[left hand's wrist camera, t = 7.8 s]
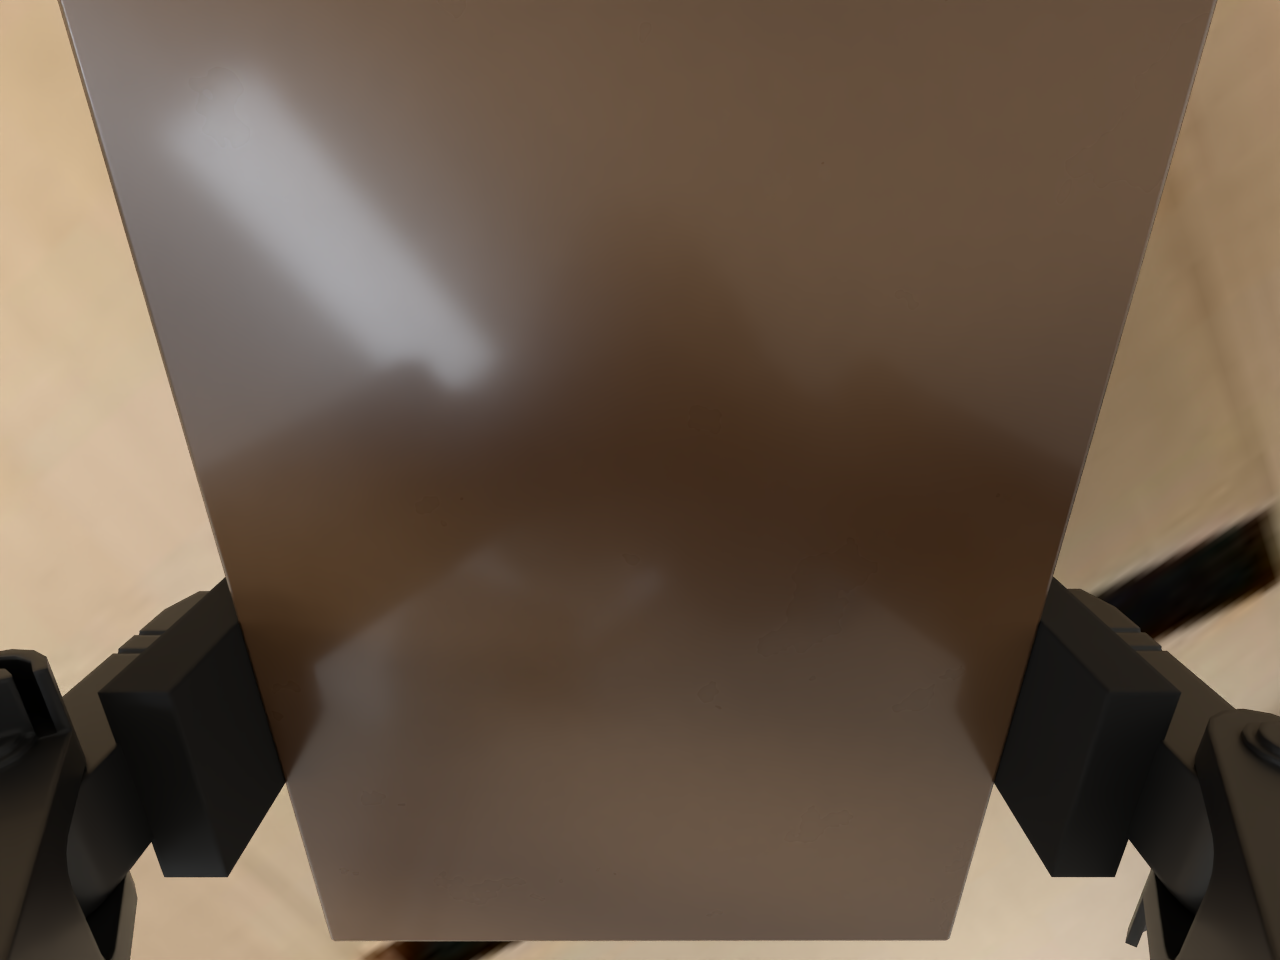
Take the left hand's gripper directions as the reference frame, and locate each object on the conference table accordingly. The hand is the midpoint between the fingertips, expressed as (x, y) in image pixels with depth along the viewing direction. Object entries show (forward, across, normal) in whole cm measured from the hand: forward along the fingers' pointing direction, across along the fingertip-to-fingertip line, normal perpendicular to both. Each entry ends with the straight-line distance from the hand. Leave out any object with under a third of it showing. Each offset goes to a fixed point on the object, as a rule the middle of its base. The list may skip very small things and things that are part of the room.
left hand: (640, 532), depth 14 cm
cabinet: (+4, 0, -4) cm, 6 cm away
